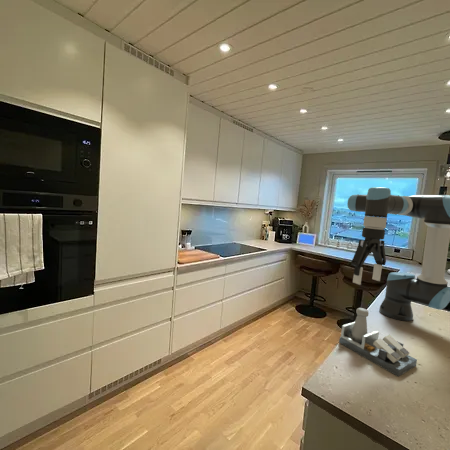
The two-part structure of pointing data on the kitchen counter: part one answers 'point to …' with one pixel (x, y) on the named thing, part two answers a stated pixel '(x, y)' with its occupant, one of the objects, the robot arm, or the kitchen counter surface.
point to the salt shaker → (360, 325)
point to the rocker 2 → (399, 349)
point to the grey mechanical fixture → (375, 351)
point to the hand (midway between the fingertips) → (366, 281)
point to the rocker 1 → (390, 352)
